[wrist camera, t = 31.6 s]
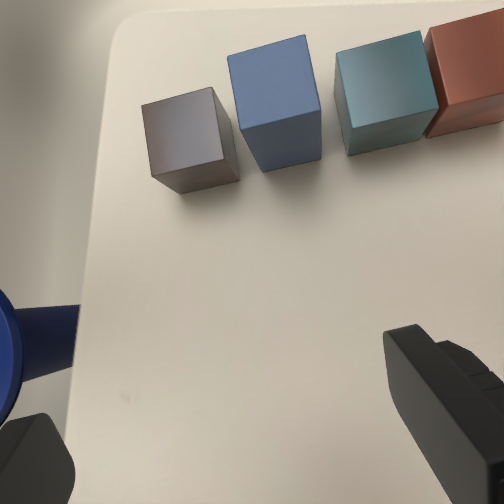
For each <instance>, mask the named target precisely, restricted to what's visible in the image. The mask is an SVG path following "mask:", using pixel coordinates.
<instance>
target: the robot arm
mask: <svg viewBox="0 0 504 504" xmlns="http://www.w3.org/2000/svg"><path fill="white" fill-rule="evenodd" d="M383 344H384V352H385V360H386V368H387V375H388V383H389V388H390V392H391V396H392V399H393V402H394V404H395V406H396V409H397V411H398V413H399V414H400V416H401V418H402V420H403V421H404V423H405V425H406V426H407V428H408V430H409V431H410V433H411V435H412V436H413V438H414V440H415V441H416V443H417V445H418V447H419V448H420V450H421V452H422V453H423V455H424V457H425V458H426V460H427V462H428V463H429V465H430V467H431V468H432V470H433V472H434V473H435V475H436V477H437V479H438V480H439V482H440V484H441V485H442V487H443V489H444V490H445V492H446V494H447V495H448V497H449V499H450V500H451V502H452V504H504V383H503V381H502V380H501V379H500V378H499V377H497V376H496V375H495V374H494V373H493V372H492V371H491V372H490V371H489V369H488V367H487V366H486V365H485V364H484V363H483V362H482V361H481V360H480V359H478V358H477V357H476V356H475V355H474V354H473V353H472V352H471V351H469V350H467V349H465V348H463V347H461V346H459V345H457V344H455V343H452V342H450V341H448V340H446V341H442V342H438V343H435V342H434V341H433V340H432V338H431V337H430V336H429V335H428V334H427V333H426V332H425V331H424V330H423V329H422V328H421V327H420V326H419V325H417V324H414V325H409V326H405V327H401V328H397V329H393V330H389V331H385V332H384V333H383ZM74 483H75V466H74V462H73V459H72V457H71V455H70V453H69V451H68V450H67V448H66V446H65V444H64V442H63V440H62V438H61V436H60V435H59V432H58V431H57V429H56V427H55V425H54V423H53V421H52V419H51V418H50V417H49V416H48V415H47V414H45V413H39V414H36V415H31V416H27V417H23V418H19V419H14V420H10V421H8V422H7V423H6V424H4V426H3V427H2V428H1V430H0V504H67V503H68V501H69V498H70V496H71V493H72V491H73V488H74Z"/></svg>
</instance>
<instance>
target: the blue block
mask: <svg viewBox="0 0 504 504" xmlns="http://www.w3.org/2000/svg"><path fill="white" fill-rule="evenodd" d="M227 61H228V67H229V72H230V78H231V83H232V89H233V94H234V100H235V105H236V111H237V116H238V122H239V127H240V131H241V133H242V135H243V137H244V138H245V140H246V142H247V144H248V146H249V148H250V150H251V152H252V154H253V156H254V158H255V160H256V162H257V164H258V165H259V167H260V169H261V171H262V172H267V171H271V170H276V169H280V168H284V167H289V166H293V165H297V164H302V163H306V162H310V161H315V160H319V159H321V106H320V101H319V97H318V92H317V87H316V82H315V78H314V73H313V68H312V63H311V59H310V54H309V49H308V44H307V40H306V35H305V34H303V35H300V36H296V37H293V38H289V39H286V40H282V41H279V42H275V43H272V44H268V45H265V46H261V47H258V48H254V49H251V50H247V51H244V52H240V53H237V54H233V55H230V56H227Z"/></svg>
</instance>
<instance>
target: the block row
mask: <svg viewBox="0 0 504 504" xmlns="http://www.w3.org/2000/svg"><path fill="white" fill-rule="evenodd" d="M334 97H335V102H336V106H337V111H338V116H339V121H340V125H341V130H342V135H343V139H344V144H345V149H346V154H347V156H351V155H356V154H360V153H364V152H369V151H373V150H378V149H382V148H387V147H391V146H395V145H400V144H404V143H409V142H413V141H417V140H419V138H420V137H421V135H422V134H423V132H424V131H425V135H426V138H430V137H434V136H439V135H443V134H448V133H452V132H456V131H461V130H465V129H470V128H474V127H479V126H483V125H487V124H492V123H496V122H501V121H502V120H504V8H502V9H498V10H494V11H491V12H487V13H483V14H479V15H476V16H472V17H468V18H465V19H461V20H457V21H453V22H450V23H446V24H442V25H439V26H435V27H431V28H429V31H428V33H427V35H426V38H425V40H424V43H423V40H422V36H421V32H420V30H419V31H415V32H412V33H408V34H404V35H401V36H397V37H393V38H389V39H386V40H382V41H378V42H375V43H371V44H367V45H364V46H360V47H356V48H352V49H349V50H345V51H341V52H338V53H336V63H335V80H334ZM141 107H142V114H143V121H144V128H145V135H146V142H147V148H148V155H149V162H150V169H151V176H152V177H153V178H155V179H156V180H158V181H160V182H161V183H163V184H164V185H166V186H167V187H169V188H170V189H172V190H173V191H175V192H176V193H178V194H183V193H187V192H192V191H196V190H201V189H205V188H210V187H214V186H218V185H223V184H227V183H232V182H236V181H240V180H241V179H240V174H239V168H238V162H237V157H236V151H235V145H234V139H233V134H232V128H231V122H230V119H229V117H228V115H227V113H226V111H225V109H224V108H223V106H222V104H221V102H220V100H219V99H218V97H217V95H216V93H215V91H214V89H213V88H212V87H208V88H205V89H201V90H197V91H194V92H190V93H186V94H182V95H179V96H175V97H171V98H168V99H164V100H160V101H157V102H153V103H149V104H145V105H142V106H141Z"/></svg>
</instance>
